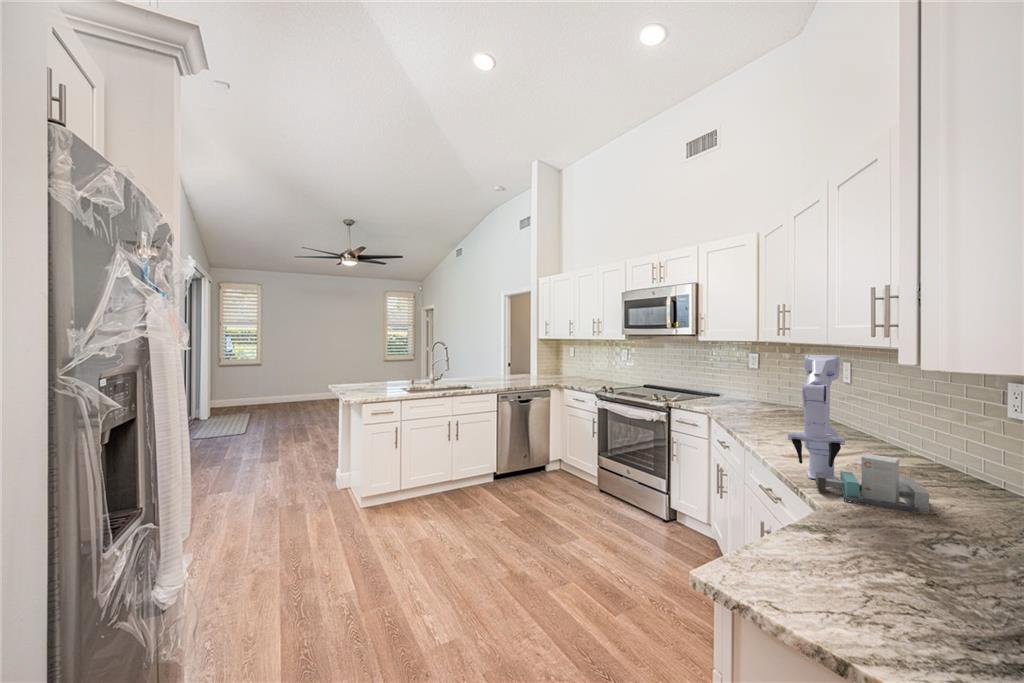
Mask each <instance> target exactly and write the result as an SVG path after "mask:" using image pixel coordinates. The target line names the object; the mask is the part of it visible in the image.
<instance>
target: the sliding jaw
mask: <svg viewBox="0 0 1024 683" xmlns="http://www.w3.org/2000/svg"><path fill="white" fill-rule="evenodd" d="M859 484H860V482H859V481H858V479H857V478H856V476H855V475H854V473H853V472H850V471H842V470H840V480H839V479H837V480H834V479H826V478H825V476H824V474H823V473H819V472H816V479H815V486H816V488H817V490H818V491H827V489H826V486H828V487H835V488H840V489H841V491H842V492H843V495H846V496H853V497H859V498H860V490H859Z"/></svg>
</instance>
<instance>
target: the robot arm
mask: <svg viewBox="0 0 1024 683" xmlns="http://www.w3.org/2000/svg"><path fill="white" fill-rule="evenodd" d="M840 363H841V361H840V356H839V355H837V354H836V355H828V354H827V355H823V354H819V355H818V354H817V355H815V354H806V355H805V356H804V370H805V374H806V375H807V378H806V384H805V385H802V390H801V398H802V403H803V408H804V409H803V411H804V412H803V414H804V415H803V417H804V418H803V419H804V420H803V421H804V422H803V425H804V426H803V427H804V428H803V431H804V432H803V433H802V432H800V433H799V432H787V440H788V441H791V442H792V444H793V446H794V449H795V450H796V453H797V456H798V463H799V464H803V453H802V452H803V447H804V448H805V449H806V450H807V452H808V454H809V455H808V458H809V459H808V463H809V465H808V469H806V473H807V476H808V478H809V479H812V480H816V472H819V473H823V474H824V476H825V478H826V479H834V480H838V479H837V477H836V475H835V458H836V456H837V455H838V453H840V451H841V448H842V446H845V445H846V442H845V441H846V440H845V438H844V437H840V434H839V431H838V430H836V429H835V428H833V427H832V426H830V414H831V413H830V410H831V409H830V408H831V402H830V401H831V385H832V382H833V381H835V380H838V379H839V376H840V369H841V368H840V365H841V364H840ZM802 442H804V443H802ZM803 445H804V446H803Z"/></svg>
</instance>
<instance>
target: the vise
mask: <svg viewBox="0 0 1024 683" xmlns="http://www.w3.org/2000/svg"><path fill="white" fill-rule="evenodd" d="M859 491H862V484H860V483H859ZM899 497H901V499H902V500H903V501H904V502H905V503H900V502H898V503H893V502H886V501H879V500H873V499H866V498H862V497H860V496H859V497H853V496H846V495H844V494H843V495H842V498H843V499H844V500H846V501H851V502H850V503H852V502H856V503H855V504H858V503H861V504H860V505H865V504H868V505H867V506H871V505H873V506H872V507H878V508H883V509H884V508H885V509H890V510H899V511H904V512H911V513H917V514H923V513H924V515H930V493H929V492H928V491H927V490H926V489H925V488H923V486H921V485H920V484H919V483H918V482H917V480H915V479H914V478H913V477H912V476H902V475H899ZM843 499H842V500H843ZM844 500H843V501H844ZM846 501H845V502H846Z"/></svg>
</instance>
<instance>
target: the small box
mask: <svg viewBox="0 0 1024 683" xmlns="http://www.w3.org/2000/svg"><path fill="white" fill-rule="evenodd" d="M860 460H861V485H862V490H861V498H866V499H873V500H879V501H886V502H893V503H899V501H900V496H899V476H900V459H899V458H895V457H889V456H884V455H883V456H882V455H876V454H870V453H865V454H864V455H862V456H861V459H860Z"/></svg>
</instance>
